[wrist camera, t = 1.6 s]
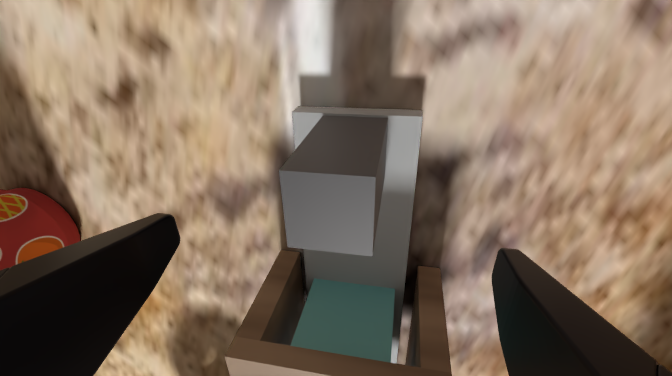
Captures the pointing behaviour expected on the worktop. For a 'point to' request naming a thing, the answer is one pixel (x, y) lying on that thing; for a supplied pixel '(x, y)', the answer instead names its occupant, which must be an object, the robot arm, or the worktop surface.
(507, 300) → the robot arm
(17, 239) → the smoothie
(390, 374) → the tunnel
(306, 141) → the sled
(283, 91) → the worktop surface
